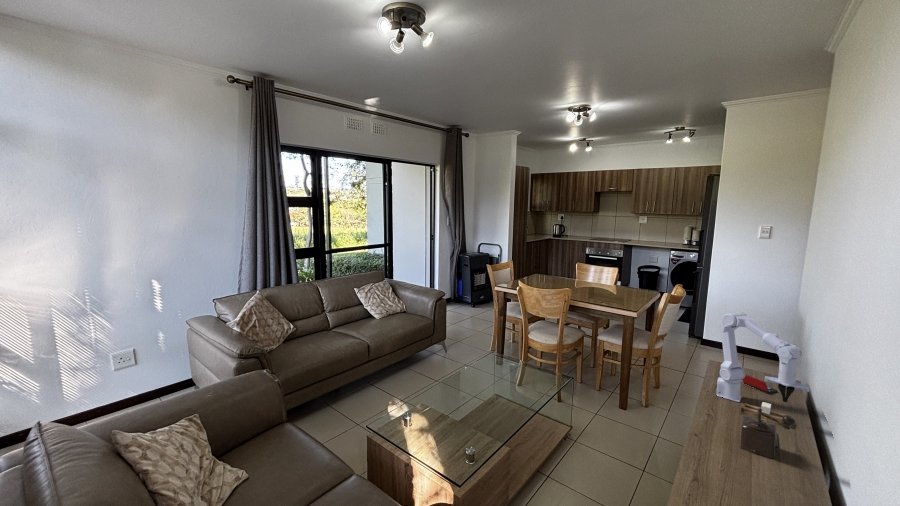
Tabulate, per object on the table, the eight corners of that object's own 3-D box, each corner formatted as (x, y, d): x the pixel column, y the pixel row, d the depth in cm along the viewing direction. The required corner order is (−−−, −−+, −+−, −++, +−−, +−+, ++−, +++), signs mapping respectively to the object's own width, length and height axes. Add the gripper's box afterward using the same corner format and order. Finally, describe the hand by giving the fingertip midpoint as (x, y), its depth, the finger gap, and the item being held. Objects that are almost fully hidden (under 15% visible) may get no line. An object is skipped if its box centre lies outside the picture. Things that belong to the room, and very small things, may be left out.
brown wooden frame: (740, 413, 170) (741, 407, 169) (742, 408, 174) (743, 402, 174) (787, 427, 158) (787, 421, 158) (788, 421, 163) (788, 415, 162)
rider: (760, 416, 165) (761, 405, 164) (761, 412, 168) (762, 401, 168) (769, 418, 163) (770, 408, 162) (770, 414, 166) (771, 404, 166)
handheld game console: (778, 392, 189) (779, 379, 189) (763, 395, 186) (765, 382, 185) (752, 382, 201) (753, 369, 201) (738, 385, 198) (739, 372, 197)
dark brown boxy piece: (739, 448, 144) (742, 406, 143) (741, 436, 152) (744, 395, 151) (792, 466, 134) (796, 420, 132) (792, 452, 142) (795, 408, 140)
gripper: (764, 370, 162) (762, 398, 164) (810, 380, 152) (807, 410, 153) (766, 365, 167) (764, 393, 169) (810, 374, 157) (808, 404, 158)
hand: (785, 401), depth 161 cm, fingers closed
